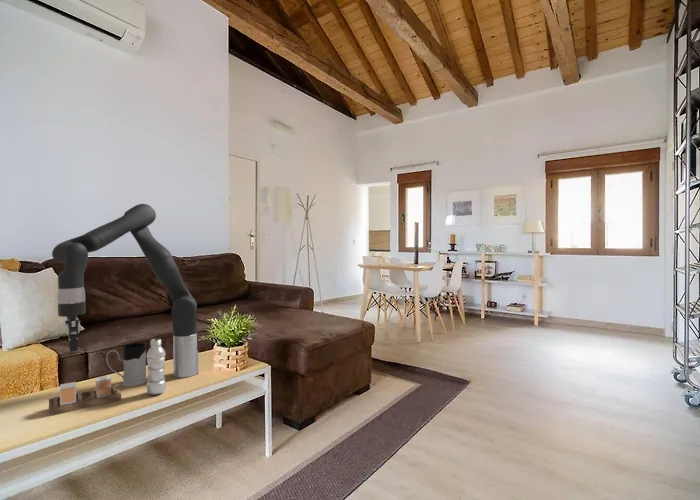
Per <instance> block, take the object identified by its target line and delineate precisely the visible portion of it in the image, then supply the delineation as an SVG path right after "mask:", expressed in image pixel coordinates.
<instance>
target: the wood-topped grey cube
mask: <svg viewBox="0 0 700 500" xmlns="http://www.w3.org/2000/svg"><path fill="white" fill-rule="evenodd" d="M76 382H77V381H73V382H67V383H61V384H59V396H60V406H64V405H69V404H74V403H76V393H77V383H76Z"/></svg>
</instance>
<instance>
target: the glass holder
mask: <svg viewBox="0 0 700 500" xmlns="http://www.w3.org/2000/svg"><path fill="white" fill-rule="evenodd" d="M112 352H115V353H116V354H117V358H118V361H123V363H122V365H123V375H122V374H121V373H120V372H118V371H116V370H115V369H113V368H112V366H111V364H110V363H109V361H108V360H109V359H108V355H109V354H110V353H112ZM146 355H147V349H146V343H144V342H135V343H134V342H133V343H128V344H125V345H124V346H123V359H121V358H120V353H119V352H118V351H117V350H109V351H108V352H107V354H106V357H105V360H106V364H107V367H108V368H109V369H110V370H111V371H112V372H114V373H116V374H117V375H119V376H120V377H122V381H123V382H122V384H121V385H122V386H123V387H136V386H137V387H138V386H141V385H143V384H145V383H147V382H148V377H147V356H146Z"/></svg>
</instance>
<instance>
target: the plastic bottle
mask: <svg viewBox="0 0 700 500" xmlns="http://www.w3.org/2000/svg"><path fill="white" fill-rule="evenodd" d="M149 344H150V345H149V346H150V348H149V349H148V351H146V364H147V369H148V371H147V373H148V375H147V382H146V392H147V394H148V395H151V396H154V395H160V394H162V393H164V392H165V391H166V387H167V383H166V377H165V361H166V350H165V348H163V346H162V338H153V339H150V343H149Z"/></svg>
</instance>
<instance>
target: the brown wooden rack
mask: <svg viewBox="0 0 700 500" xmlns="http://www.w3.org/2000/svg"><path fill="white" fill-rule="evenodd" d="M118 401H122V392H121V391H120V384H114V385H112V378H111V374H110V375H109V374H108V375H105V376H104V375H103V376H99V377H95V388H94V389H90V390H89V389H88V390H85V391H81V392H76V403H74V404H69V405H64V406H60V395H59V396H56V397H50V398H48V410H47V411H48V417H51V416H56V415H60V414H64V413H68V412H74V411H78V410H81V409H87V408H90V407H96V406H99V405H105V404H109V403H113V402H118Z"/></svg>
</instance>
